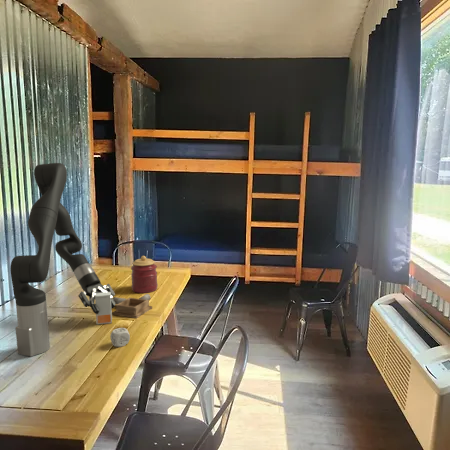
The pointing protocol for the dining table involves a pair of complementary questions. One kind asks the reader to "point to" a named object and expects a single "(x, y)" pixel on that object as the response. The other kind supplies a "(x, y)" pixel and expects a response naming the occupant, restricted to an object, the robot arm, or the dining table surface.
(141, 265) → the canister
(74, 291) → the dining table surface
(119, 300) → the block
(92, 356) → the dining table surface
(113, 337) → the die
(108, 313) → the skincare box
